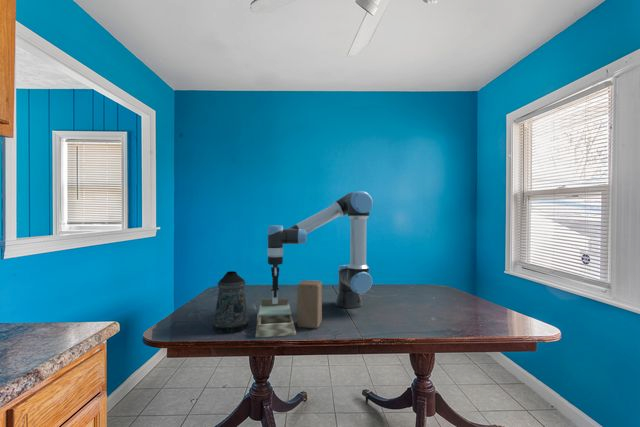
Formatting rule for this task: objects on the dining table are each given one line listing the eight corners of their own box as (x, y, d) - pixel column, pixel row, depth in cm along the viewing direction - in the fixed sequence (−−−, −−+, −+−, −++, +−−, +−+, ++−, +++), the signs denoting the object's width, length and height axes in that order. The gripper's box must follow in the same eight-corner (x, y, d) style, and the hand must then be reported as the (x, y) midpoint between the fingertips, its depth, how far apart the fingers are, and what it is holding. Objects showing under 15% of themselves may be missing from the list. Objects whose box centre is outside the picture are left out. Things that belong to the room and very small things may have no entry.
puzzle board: (290, 312, 164) (290, 303, 165) (296, 335, 133) (296, 323, 133) (257, 314, 162) (257, 304, 162) (255, 337, 130) (255, 325, 130)
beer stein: (229, 337, 131) (230, 277, 131) (199, 327, 141) (200, 272, 141) (257, 325, 145) (257, 271, 145) (228, 318, 155) (228, 267, 155)
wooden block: (317, 329, 140) (318, 285, 140) (296, 327, 142) (296, 283, 142) (322, 322, 150) (322, 280, 150) (302, 320, 152) (302, 279, 152)
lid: (289, 305, 159) (289, 298, 159) (291, 314, 144) (291, 306, 144) (259, 306, 156) (259, 299, 156) (259, 316, 142) (259, 307, 142)
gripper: (267, 254, 161) (267, 300, 161) (267, 257, 148) (267, 307, 148) (282, 254, 163) (281, 299, 162) (283, 257, 150) (283, 306, 149)
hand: (274, 303), depth 155 cm, fingers closed
